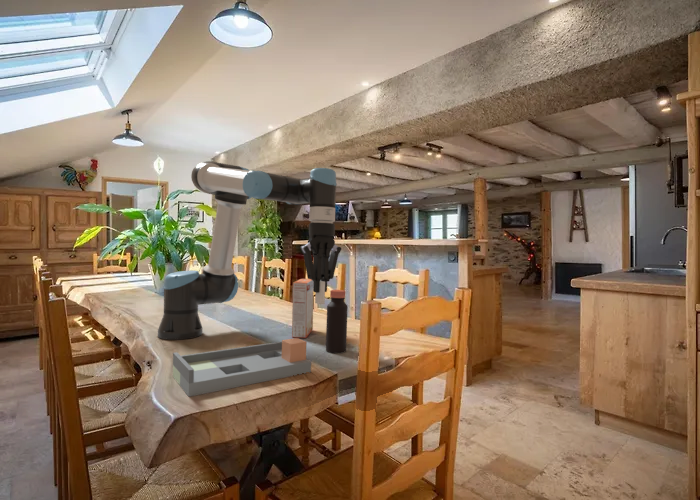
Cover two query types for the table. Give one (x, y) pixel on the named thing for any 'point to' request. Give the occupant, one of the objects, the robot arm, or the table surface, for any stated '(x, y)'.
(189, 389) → the board
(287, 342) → the terracotta block
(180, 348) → the table surface
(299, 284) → the cracker box
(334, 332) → the bottle
